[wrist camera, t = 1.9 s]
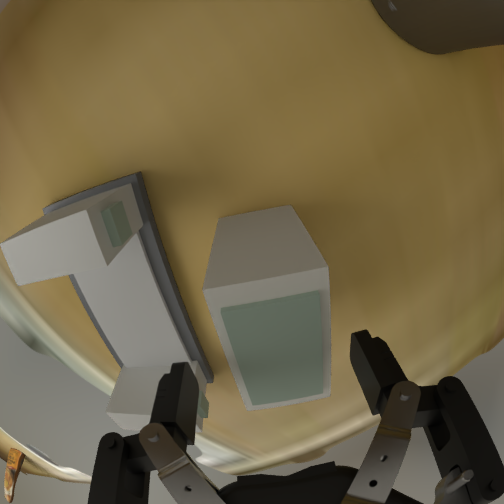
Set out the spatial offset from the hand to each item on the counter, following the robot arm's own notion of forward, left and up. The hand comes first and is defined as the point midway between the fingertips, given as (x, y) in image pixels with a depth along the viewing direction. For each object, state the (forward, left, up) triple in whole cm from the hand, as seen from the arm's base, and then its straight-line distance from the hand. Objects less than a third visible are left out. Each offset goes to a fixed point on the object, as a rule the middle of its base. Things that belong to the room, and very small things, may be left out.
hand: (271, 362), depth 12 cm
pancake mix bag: (+114, +70, -9) cm, 134 cm away
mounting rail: (+11, +1, -9) cm, 14 cm away
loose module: (0, 0, -9) cm, 9 cm away
